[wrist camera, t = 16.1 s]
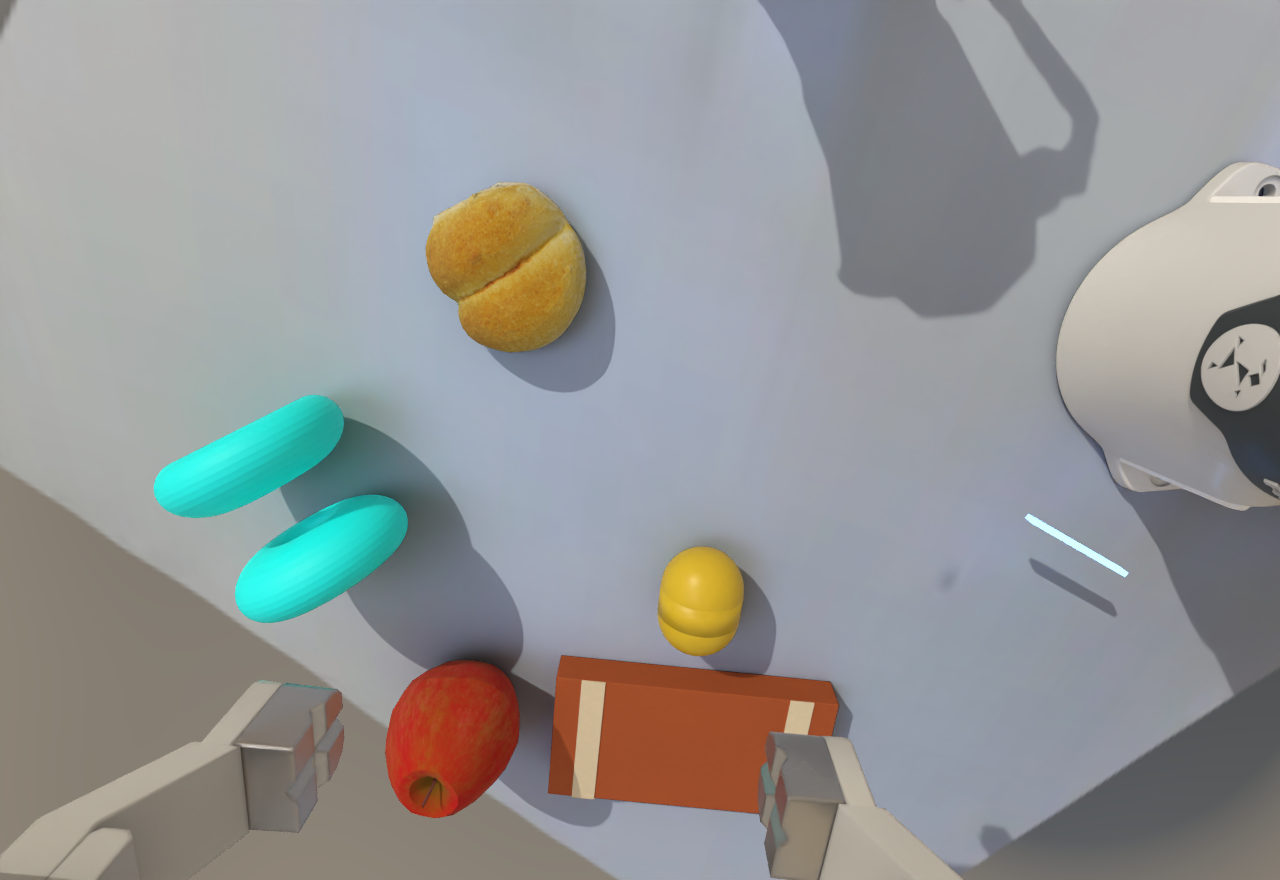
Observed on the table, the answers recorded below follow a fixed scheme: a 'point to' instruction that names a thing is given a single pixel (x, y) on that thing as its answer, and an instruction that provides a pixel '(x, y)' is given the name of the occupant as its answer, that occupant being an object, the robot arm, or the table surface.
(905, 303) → the table surface
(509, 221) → the bread roll
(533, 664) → the table surface
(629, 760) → the tea towel
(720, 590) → the lemon
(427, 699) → the apple
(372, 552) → the donuts
